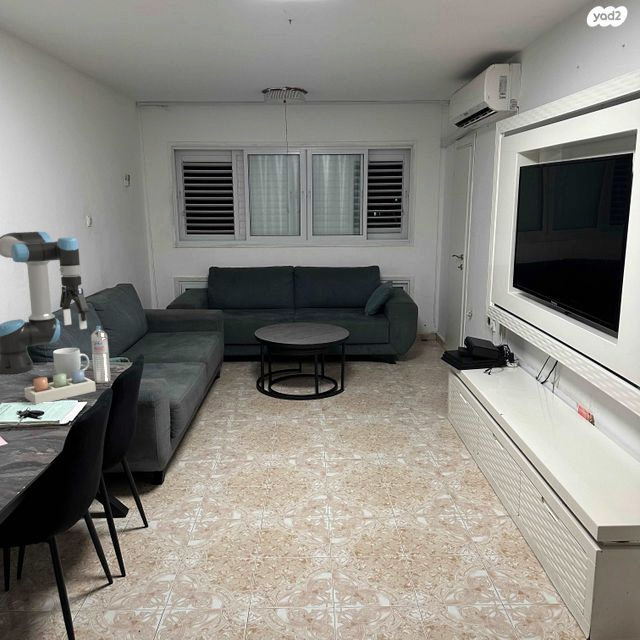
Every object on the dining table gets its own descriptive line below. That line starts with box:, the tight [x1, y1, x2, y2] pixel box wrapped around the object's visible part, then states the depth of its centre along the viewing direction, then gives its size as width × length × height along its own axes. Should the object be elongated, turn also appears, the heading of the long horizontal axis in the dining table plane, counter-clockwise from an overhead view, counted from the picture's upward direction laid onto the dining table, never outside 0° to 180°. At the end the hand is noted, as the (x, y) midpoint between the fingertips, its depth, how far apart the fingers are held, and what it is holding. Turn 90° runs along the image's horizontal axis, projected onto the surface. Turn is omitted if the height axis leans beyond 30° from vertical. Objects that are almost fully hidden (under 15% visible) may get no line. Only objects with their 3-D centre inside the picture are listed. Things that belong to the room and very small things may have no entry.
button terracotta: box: [32, 376, 48, 393], centre depth 232 cm, size 5×5×5 cm
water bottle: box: [90, 325, 111, 384], centre depth 253 cm, size 7×7×25 cm
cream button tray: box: [23, 376, 97, 405], centre depth 238 cm, size 12×24×4 cm, turn 135°
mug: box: [52, 347, 90, 380], centre depth 260 cm, size 15×11×13 cm
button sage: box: [52, 373, 67, 388], centre depth 237 cm, size 5×5×5 cm
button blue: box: [71, 369, 86, 384], centre depth 242 cm, size 5×5×5 cm
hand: (75, 326), depth 239 cm, fingers open, 13 cm apart
